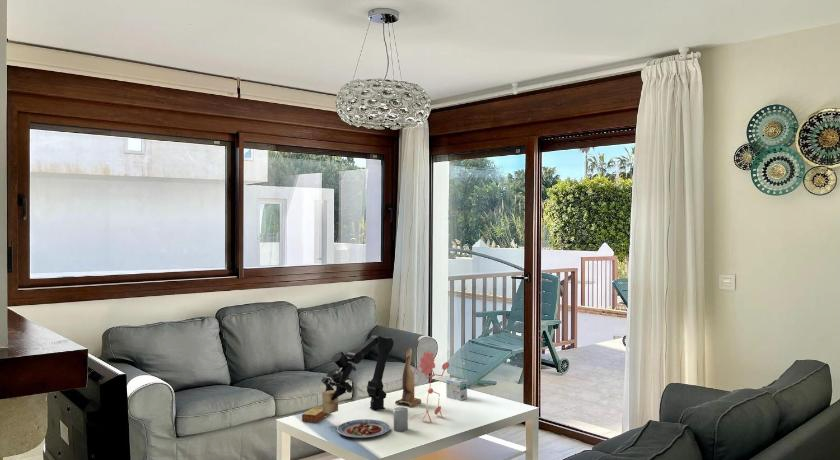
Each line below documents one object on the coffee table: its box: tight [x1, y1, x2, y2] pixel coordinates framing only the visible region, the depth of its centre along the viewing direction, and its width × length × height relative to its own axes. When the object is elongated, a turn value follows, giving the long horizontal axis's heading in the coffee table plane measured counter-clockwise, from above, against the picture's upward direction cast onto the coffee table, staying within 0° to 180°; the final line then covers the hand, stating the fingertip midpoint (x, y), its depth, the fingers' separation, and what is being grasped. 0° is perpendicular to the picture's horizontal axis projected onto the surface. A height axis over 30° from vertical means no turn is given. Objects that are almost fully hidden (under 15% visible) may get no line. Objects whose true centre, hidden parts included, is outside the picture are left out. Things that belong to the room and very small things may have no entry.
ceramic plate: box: [336, 418, 391, 439], centre depth 310 cm, size 26×26×3 cm
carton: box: [301, 405, 330, 424], centre depth 333 cm, size 8×16×4 cm, turn 162°
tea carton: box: [321, 389, 339, 415], centre depth 321 cm, size 6×5×10 cm
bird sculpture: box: [394, 347, 422, 408], centre depth 356 cm, size 11×12×32 cm
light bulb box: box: [445, 377, 468, 402], centre depth 367 cm, size 11×7×11 cm, turn 49°
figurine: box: [411, 350, 450, 423], centre depth 331 cm, size 15×26×35 cm, turn 139°
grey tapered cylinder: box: [393, 406, 409, 433], centre depth 313 cm, size 7×7×10 cm
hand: (328, 399), depth 320 cm, fingers closed on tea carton, 5 cm apart
